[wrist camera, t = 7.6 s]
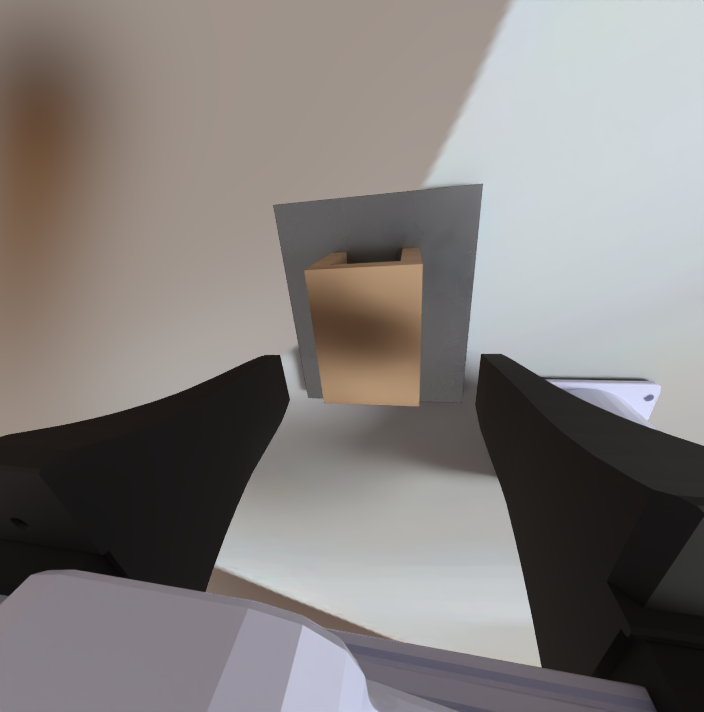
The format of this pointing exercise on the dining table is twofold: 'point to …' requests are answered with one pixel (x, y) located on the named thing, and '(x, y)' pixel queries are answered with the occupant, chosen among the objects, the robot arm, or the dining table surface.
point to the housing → (367, 328)
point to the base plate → (385, 244)
